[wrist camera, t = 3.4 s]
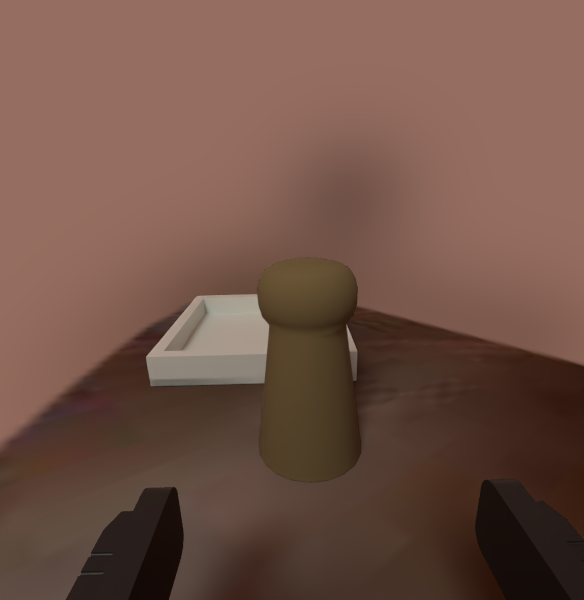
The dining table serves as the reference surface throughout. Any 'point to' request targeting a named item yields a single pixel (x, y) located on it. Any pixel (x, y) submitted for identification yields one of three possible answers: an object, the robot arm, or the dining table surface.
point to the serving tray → (217, 344)
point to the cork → (308, 370)
